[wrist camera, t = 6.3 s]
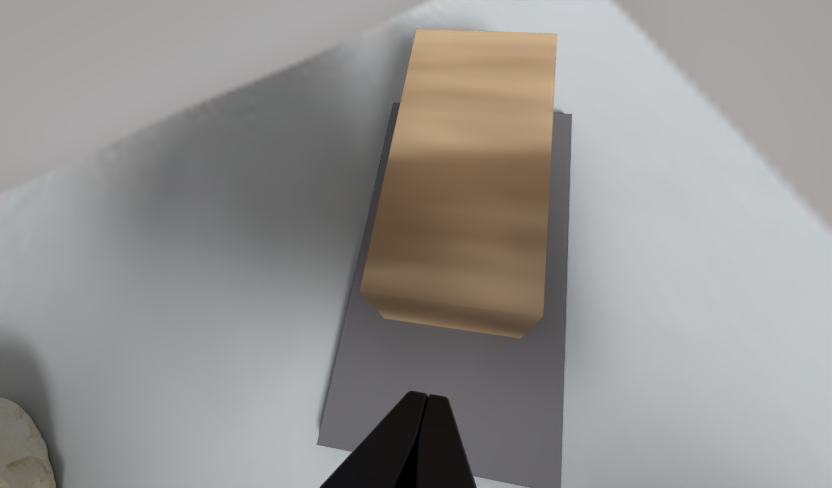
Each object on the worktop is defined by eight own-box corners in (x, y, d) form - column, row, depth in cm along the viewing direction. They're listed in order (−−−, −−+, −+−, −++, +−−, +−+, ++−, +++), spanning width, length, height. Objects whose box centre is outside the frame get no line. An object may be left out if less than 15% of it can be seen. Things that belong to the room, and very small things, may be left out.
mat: (556, 489, 13) (560, 493, 12) (321, 442, 14) (316, 444, 13) (568, 121, 18) (571, 114, 17) (395, 109, 19) (393, 102, 18)
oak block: (543, 316, 10) (557, 33, 14) (359, 291, 11) (416, 28, 15) (520, 338, 14) (535, 111, 18) (383, 318, 15) (424, 103, 18)
